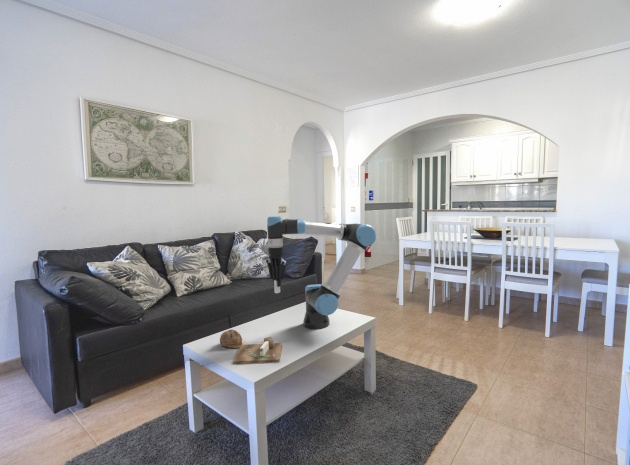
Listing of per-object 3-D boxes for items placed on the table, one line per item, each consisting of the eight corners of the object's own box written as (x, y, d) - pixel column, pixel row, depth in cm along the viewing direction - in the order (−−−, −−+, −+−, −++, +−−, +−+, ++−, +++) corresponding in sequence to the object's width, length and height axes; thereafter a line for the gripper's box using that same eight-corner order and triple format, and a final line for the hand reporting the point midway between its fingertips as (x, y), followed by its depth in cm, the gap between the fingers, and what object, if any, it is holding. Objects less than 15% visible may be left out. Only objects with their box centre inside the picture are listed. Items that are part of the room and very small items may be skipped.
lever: (265, 345, 159) (265, 337, 159) (274, 345, 159) (274, 337, 158) (256, 357, 146) (256, 348, 146) (266, 357, 146) (265, 348, 146)
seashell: (222, 350, 157) (219, 329, 161) (220, 353, 164) (217, 333, 168) (244, 345, 161) (241, 325, 165) (241, 349, 168) (238, 329, 172)
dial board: (282, 345, 162) (282, 342, 162) (279, 362, 144) (279, 358, 144) (241, 347, 162) (241, 344, 162) (233, 364, 144) (233, 360, 144)
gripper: (261, 247, 168) (263, 292, 170) (279, 248, 160) (281, 296, 162) (271, 245, 174) (273, 289, 175) (290, 246, 166) (291, 292, 167)
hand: (277, 292), depth 169 cm, fingers closed
